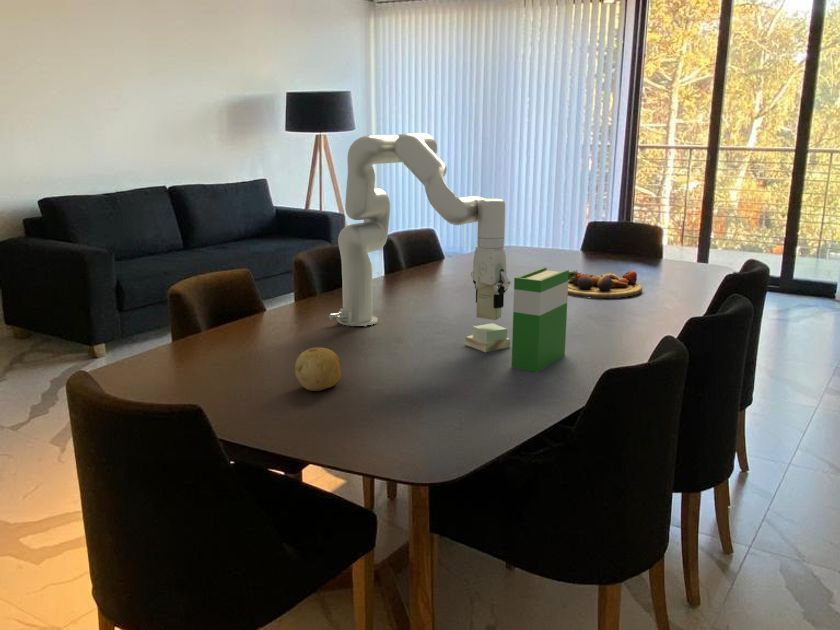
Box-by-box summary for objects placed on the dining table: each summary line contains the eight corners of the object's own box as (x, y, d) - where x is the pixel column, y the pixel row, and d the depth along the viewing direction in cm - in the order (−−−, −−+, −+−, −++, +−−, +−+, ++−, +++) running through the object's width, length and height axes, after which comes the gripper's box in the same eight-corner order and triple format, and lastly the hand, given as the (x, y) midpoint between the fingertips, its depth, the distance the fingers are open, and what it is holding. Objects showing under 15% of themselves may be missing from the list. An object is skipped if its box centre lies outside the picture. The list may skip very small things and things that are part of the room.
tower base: (485, 354, 218) (485, 343, 217) (465, 346, 225) (465, 336, 224) (509, 348, 223) (510, 338, 222) (489, 341, 230) (489, 331, 229)
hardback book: (540, 351, 219) (543, 267, 213) (564, 355, 215) (568, 270, 209) (511, 367, 204) (514, 277, 199) (537, 372, 200) (540, 280, 195)
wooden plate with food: (634, 283, 311) (635, 262, 310) (649, 300, 281) (650, 277, 279) (553, 283, 315) (554, 263, 313) (559, 299, 284) (560, 277, 282)
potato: (351, 384, 191) (350, 345, 188) (317, 399, 181) (316, 358, 178) (319, 377, 196) (318, 339, 194) (285, 391, 186) (283, 351, 184)
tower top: (486, 342, 218) (487, 332, 218) (472, 336, 224) (472, 326, 223) (506, 338, 222) (507, 328, 221) (492, 333, 228) (492, 323, 227)
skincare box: (475, 318, 221) (476, 276, 218) (482, 314, 225) (482, 273, 222) (496, 320, 218) (497, 278, 215) (502, 317, 222) (503, 275, 219)
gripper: (461, 240, 221) (460, 301, 226) (500, 248, 207) (498, 313, 212) (481, 238, 225) (480, 297, 230) (521, 246, 212) (519, 309, 216)
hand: (489, 304), depth 221 cm, fingers closed on skincare box, 7 cm apart
